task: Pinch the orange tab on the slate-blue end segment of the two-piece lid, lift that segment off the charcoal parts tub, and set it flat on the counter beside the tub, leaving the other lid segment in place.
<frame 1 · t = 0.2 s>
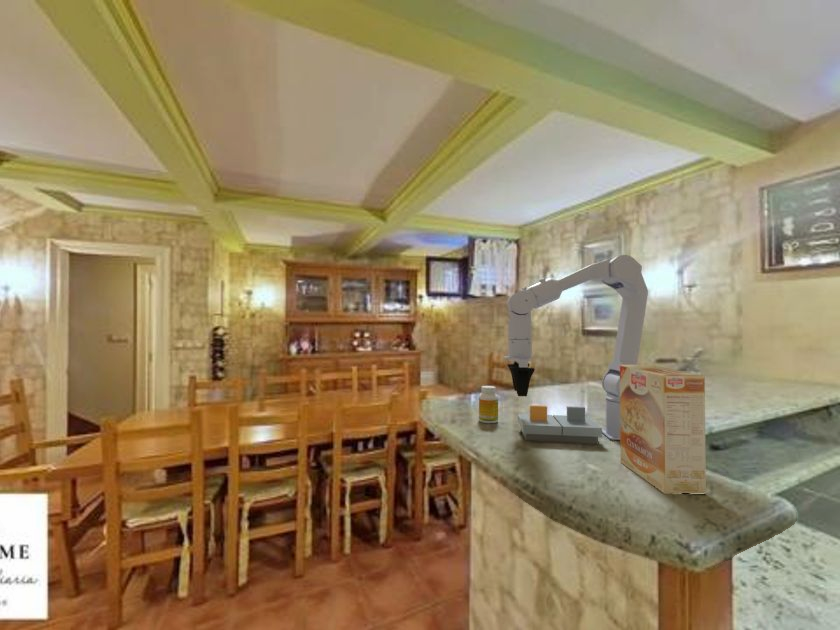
hand: (520, 393, 98), 10 cm above the countertop, fingers open, 7 cm apart
coffeecake box: (658, 478, 70), on the countertop
tabbed lid segment: (538, 422, 95), point 3 cm above the countertop, touching parts tub
supplement bottle: (488, 421, 110), on the countertop
parts tub: (556, 436, 95), on the countertop
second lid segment: (575, 424, 94), point 3 cm above the countertop, touching parts tub
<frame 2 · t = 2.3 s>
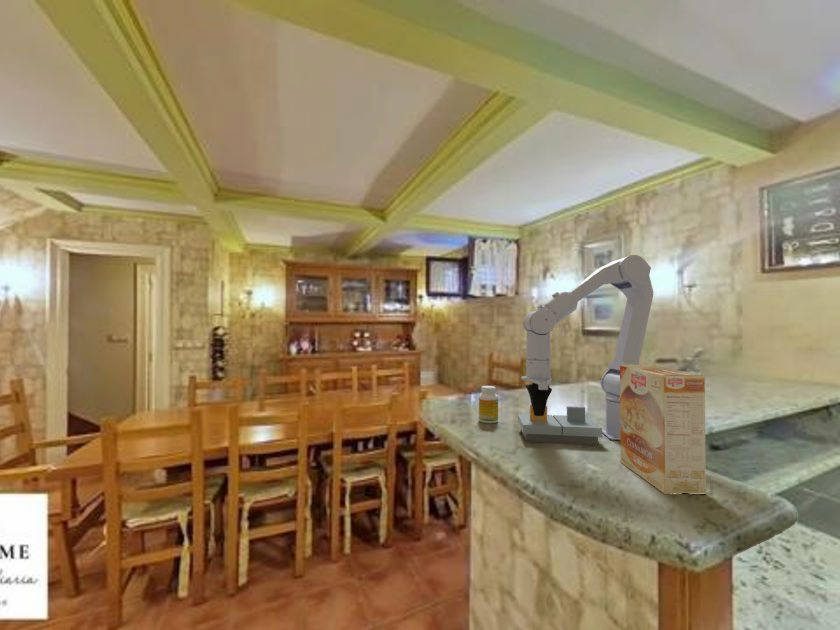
hand: (538, 414, 95), 5 cm above the countertop, fingers closed on tabbed lid segment
tabbed lid segment: (538, 422, 95), point 3 cm above the countertop, touching gripper, parts tub
everything else where it was.
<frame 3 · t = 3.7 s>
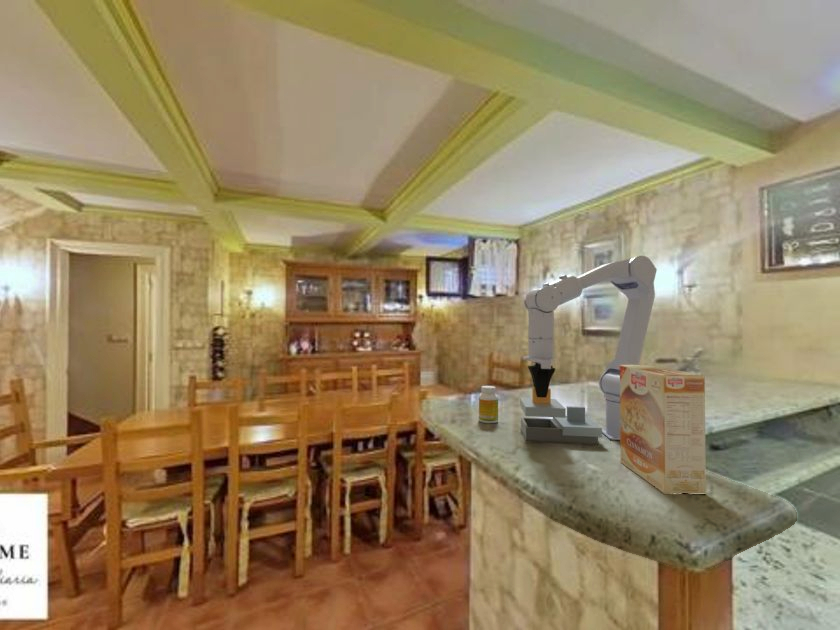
hand: (540, 396, 91), 10 cm above the countertop, fingers closed on tabbed lid segment
tabbed lid segment: (541, 406, 91), point 8 cm above the countertop, touching gripper
everything else where it was.
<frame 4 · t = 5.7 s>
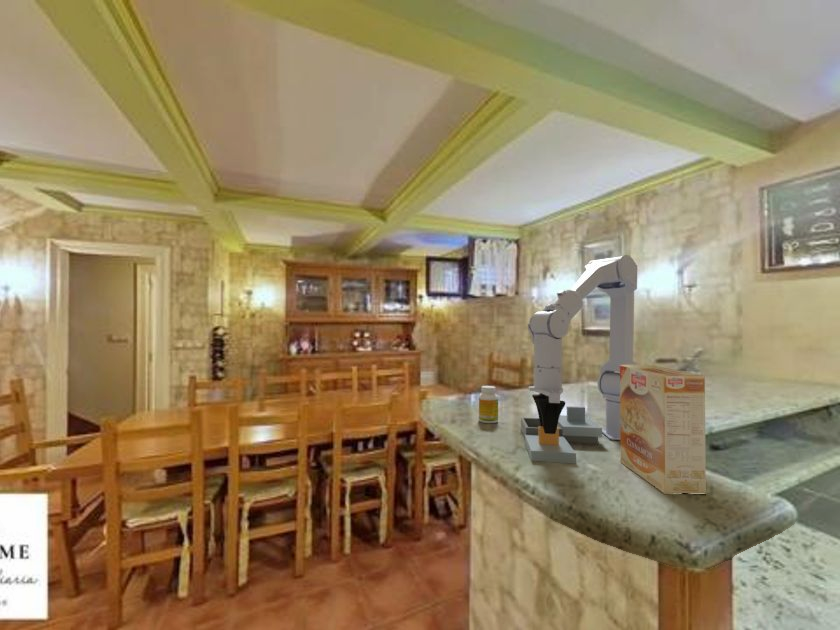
hand: (547, 430, 83), 5 cm above the countertop, fingers open, 4 cm apart
tabbed lid segment: (548, 447, 83), point 1 cm above the countertop
everything else where it was.
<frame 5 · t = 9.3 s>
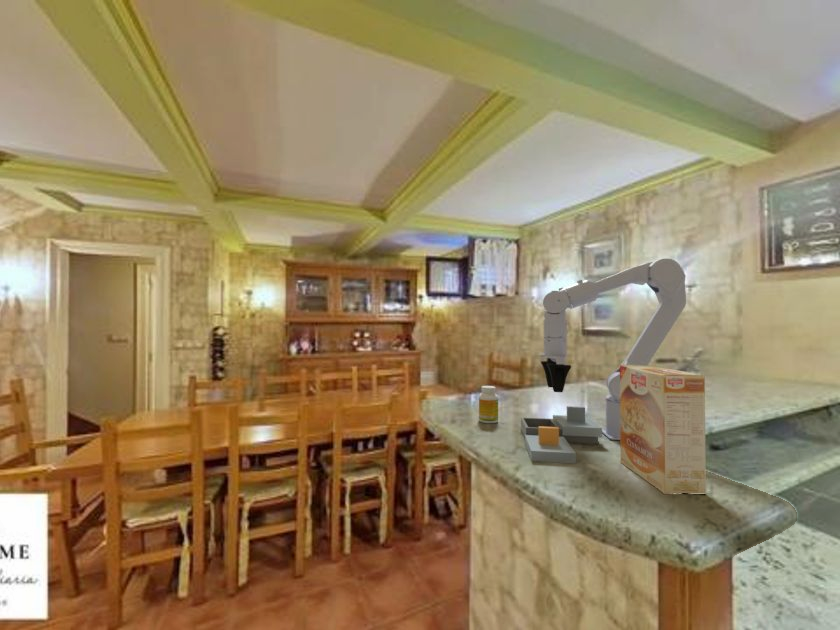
hand: (555, 389, 102), 10 cm above the countertop, fingers open, 7 cm apart
nothing on the countertop moved.
at the end: tabbed lid segment inside the target area (0.2 cm from its centre), point 1.2 cm above the countertop; the gripper is holding nothing; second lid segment moved 0.0 cm from its start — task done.
